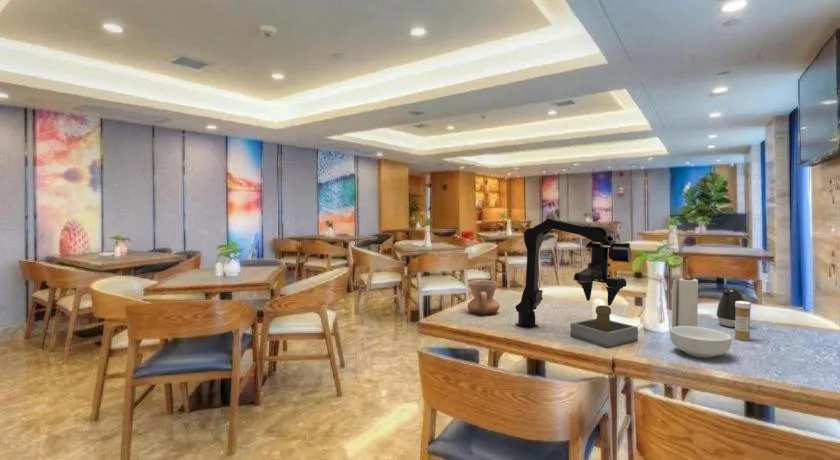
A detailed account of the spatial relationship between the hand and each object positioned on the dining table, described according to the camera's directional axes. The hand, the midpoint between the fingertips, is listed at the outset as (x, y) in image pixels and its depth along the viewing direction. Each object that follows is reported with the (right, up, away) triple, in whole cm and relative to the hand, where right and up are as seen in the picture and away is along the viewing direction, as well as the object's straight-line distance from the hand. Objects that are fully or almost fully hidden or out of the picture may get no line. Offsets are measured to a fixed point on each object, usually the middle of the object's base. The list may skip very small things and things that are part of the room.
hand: (598, 302), depth 162 cm
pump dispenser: (+58, -12, +13) cm, 61 cm away
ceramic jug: (-36, -11, +40) cm, 56 cm away
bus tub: (+1, -13, -2) cm, 13 cm away
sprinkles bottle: (+50, -13, -4) cm, 51 cm away
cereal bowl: (+25, -14, -19) cm, 34 cm away
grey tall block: (+32, -13, -1) cm, 34 cm away
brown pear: (+1, -12, -2) cm, 12 cm away
